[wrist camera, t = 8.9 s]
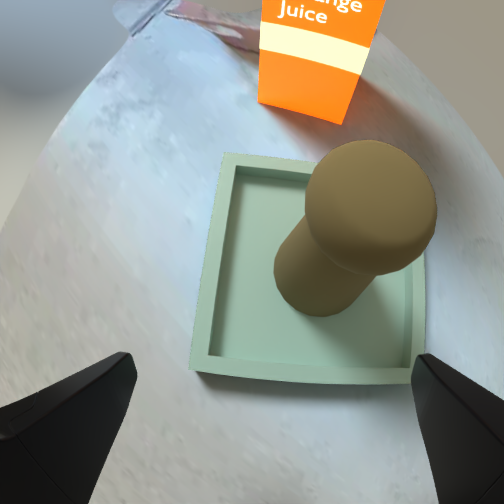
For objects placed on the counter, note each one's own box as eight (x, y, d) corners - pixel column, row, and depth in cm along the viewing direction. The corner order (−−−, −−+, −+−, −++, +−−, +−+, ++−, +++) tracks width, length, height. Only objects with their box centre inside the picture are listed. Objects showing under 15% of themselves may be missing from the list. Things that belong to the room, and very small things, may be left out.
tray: (408, 381, 18) (421, 382, 17) (193, 368, 18) (188, 369, 17) (406, 192, 23) (415, 181, 21) (225, 166, 23) (223, 152, 21)
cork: (270, 227, 21) (291, 110, 10) (356, 225, 21) (432, 124, 11) (276, 320, 19) (313, 278, 9) (368, 312, 19) (477, 266, 9)
